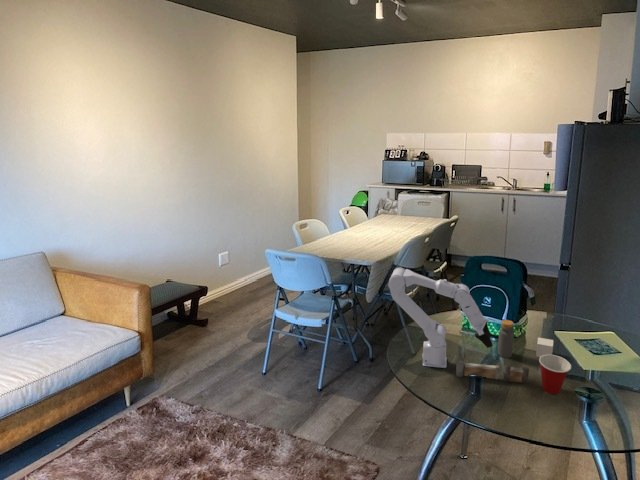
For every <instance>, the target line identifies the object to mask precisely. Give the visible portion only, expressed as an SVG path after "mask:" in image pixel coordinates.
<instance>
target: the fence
mask: <svg viewBox="0 0 640 480" xmlns="http://www.w3.org/2000/svg"><path fill="white" fill-rule="evenodd" d="M503 366H504V367H503V376H502V377H503V378H502V381H504V382H507V383H508V382H515V383H522V384H524V385H525V384H526V385H527V384H529V375H530V374H529V373H530V367H527V366H522V367H512V366H511V365H508V364H505V365H503Z"/></svg>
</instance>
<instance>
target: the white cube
mask: <svg viewBox="0 0 640 480" xmlns="http://www.w3.org/2000/svg"><path fill="white" fill-rule="evenodd" d="M536 343H537V344H536V353H535V357H537V358H540V357H541V356H542V355H547V354H549V355H553V352H554V351H553V349H554V339H549V338H543V337H537V342H536Z"/></svg>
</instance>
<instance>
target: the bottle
mask: <svg viewBox="0 0 640 480" xmlns="http://www.w3.org/2000/svg"><path fill="white" fill-rule="evenodd" d="M514 328H515V327H514V321H512V320H509V319H502V320H501V324H500V330H499V331H498V341H497V342H498V343H497V355H498V354H499V355H500V356H499V355H498V356H499V357H501V356H502V357H501V358H504V357H505V358H506V359H509V358H511V357H512V356H513V349H514V340H515V337H514V336H515V333H514ZM505 358H504V359H505Z"/></svg>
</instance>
